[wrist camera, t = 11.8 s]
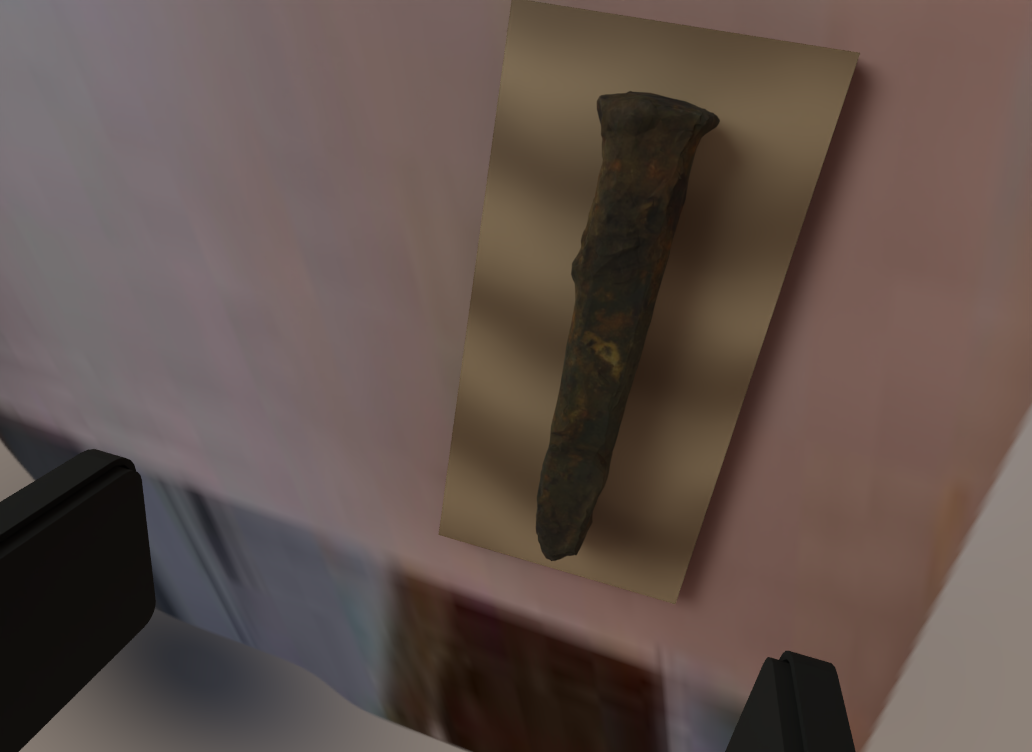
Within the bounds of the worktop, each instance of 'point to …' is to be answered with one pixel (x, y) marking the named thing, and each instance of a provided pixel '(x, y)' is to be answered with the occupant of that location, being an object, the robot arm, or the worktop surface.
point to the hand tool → (614, 299)
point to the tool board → (683, 291)
